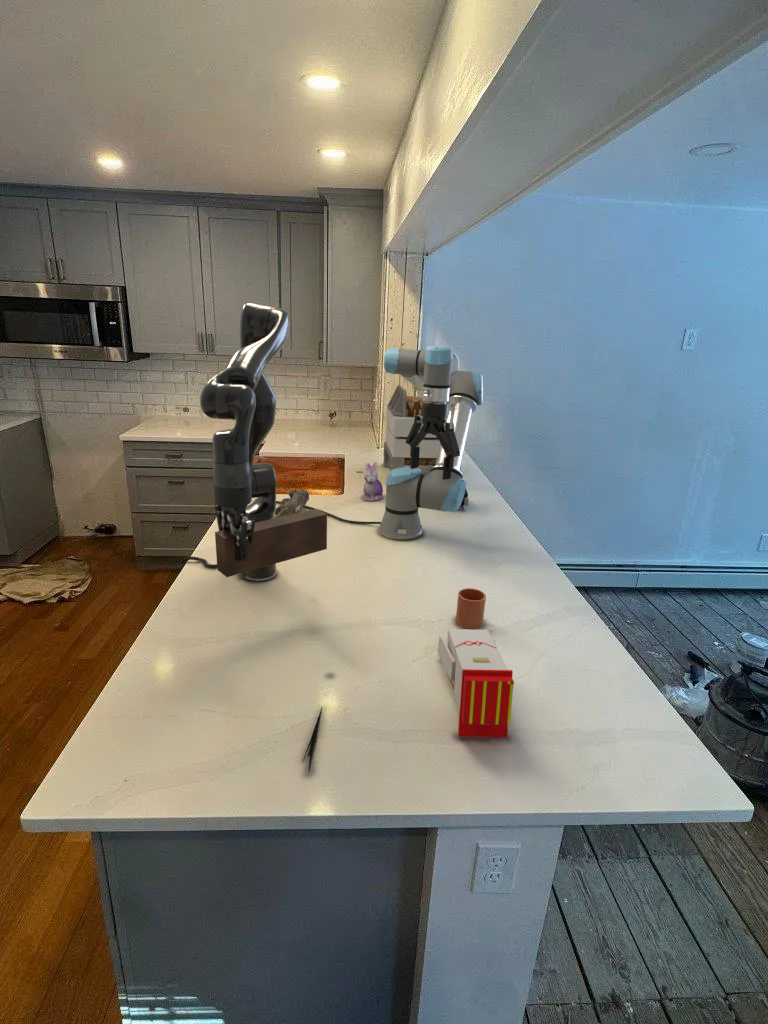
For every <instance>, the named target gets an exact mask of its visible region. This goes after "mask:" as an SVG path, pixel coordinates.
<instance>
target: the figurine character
mask: <svg viewBox="0 0 768 1024" xmlns="http://www.w3.org/2000/svg"><path fill="white" fill-rule="evenodd" d="M469 502H470V501H469V492H468V490H467V488H466V489H465V494H464V497H463V500H462V503H461V505H460V507H459V508H461V510H462V511H464V510H465V507H468V506H469Z"/></svg>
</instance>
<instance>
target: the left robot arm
mask: <svg viewBox="0 0 768 1024" xmlns="http://www.w3.org/2000/svg"><path fill="white" fill-rule="evenodd" d="M239 319H240V320H239V341H240V343H239V345H240V346H239V348H240V349H238V350H237V351H235V353H234V354H233V355H232V357H230V360H229V362H228V363H227V365H226V367H225V368H224V369H223V370H222V371H220V372H218V374H215V376H213V377H212V378H211V379H210V380H209V381H208V382H206V383H205V385H204V386H203V388H202V391H201V393H200V396H199V404H200V408H201V410H202V411H201V412H203V414H204V415H206V416H207V417H208V418H211V419H216V420H231V421H235V424H234V426H233V428H228V429H221V430H218V431H216V432H215V433H214V434H213V435H212V457H213V468H212V477H213V494H214V503H215V505H214V510H215V516H216V521H217V526H218V531H221V530H228V529H231V534H232V535H233V536H235V543H236V560H237V561H238V562H241V561H245V560H246V559H247V545H248V544H252V543H253V535H254V526H255V523H256V522H260V521H265V520H269V519H274V518H275V516H276V515H275V511H276V508H277V503H276V501H277V475H276V470H275V468H274V466H273V465H272V464H271V463H270V462H259V463H253V462H254V458H255V455H256V452H258V449H259V447H260V446H261V445H262V444H263V442H264V440H266V438H267V436H268V435H269V433H270V432H271V430H272V428H273V426H274V424H275V420H276V409H277V408H276V407H277V397H276V393H275V391H274V388H273V386H272V385H271V383H270V382H269V380H268V378H267V376H266V374H265V372H264V371H265V369H266V368H267V367H268V366H269V364H270V363H271V362H272V361H273V360H274V359H275V358H276V356H277V355H278V354H279V353H280V352H281V350H282V349H283V348H284V346H285V345H286V343H287V340H288V339H289V334H290V325H291V320H290V314H289V312H288V311H287V310H286V309H284V308H280V307H276V306H272V305H267V304H262V303H257V302H245V304H244V305H243V306H242V309H241V314H240V318H239ZM253 499H254V501H253ZM255 499H256V500H255ZM252 501H253V502H252ZM239 528H241V530H239V531H236V530H235V529H239ZM239 535H240V540H239ZM186 561H187V562H188V561H198V562H200V563H203V565H204V567H206V568H211V569H215V568H216V569H217V563H216V564H212V563H208V560H206V559H204V558H201V557H198V556H186V557H183V558H182V559H181V560H180V561H179V563H182V564H183V563H185V562H186ZM276 576H277V563H276V564H273V565H269V566H265V567H262V568H258V569H255V570H251V571H248V572H244V573H241V579H246V580H248V581H251V582H265V581H269V580H272V579H274V578H275V577H276Z"/></svg>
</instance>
